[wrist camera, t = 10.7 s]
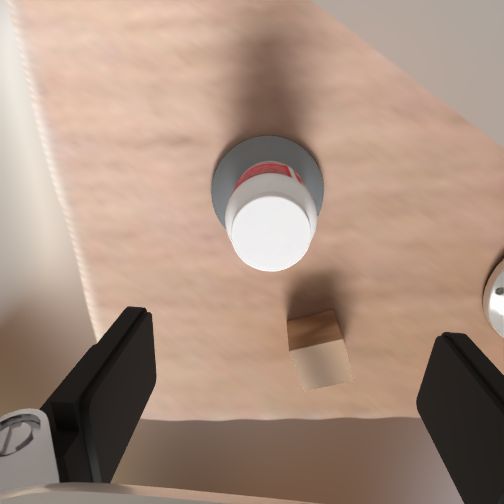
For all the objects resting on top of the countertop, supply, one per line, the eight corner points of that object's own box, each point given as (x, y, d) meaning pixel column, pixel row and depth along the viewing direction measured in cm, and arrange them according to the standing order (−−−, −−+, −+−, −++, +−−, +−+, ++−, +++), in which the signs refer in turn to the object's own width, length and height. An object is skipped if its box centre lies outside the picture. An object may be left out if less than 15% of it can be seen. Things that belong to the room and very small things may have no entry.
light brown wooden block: (332, 309, 34) (343, 338, 29) (343, 346, 35) (354, 380, 31) (286, 320, 34) (289, 351, 30) (298, 356, 36) (303, 391, 31)
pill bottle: (222, 204, 29) (197, 247, 19) (260, 145, 27) (255, 158, 17) (278, 240, 30) (283, 300, 20) (319, 186, 28) (347, 222, 18)
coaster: (329, 137, 27) (330, 138, 27) (316, 247, 31) (317, 249, 30) (211, 133, 28) (210, 133, 27) (213, 242, 31) (212, 244, 31)
